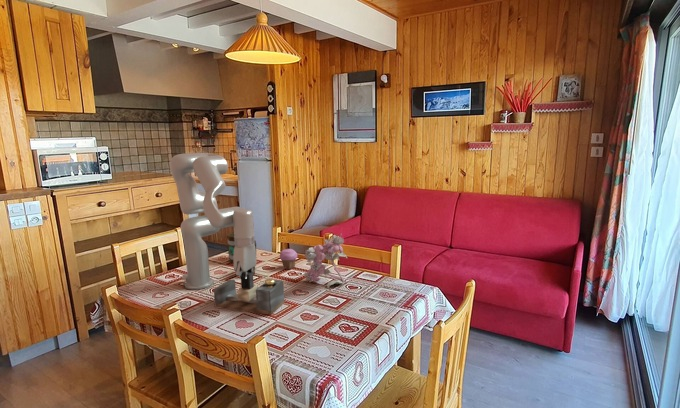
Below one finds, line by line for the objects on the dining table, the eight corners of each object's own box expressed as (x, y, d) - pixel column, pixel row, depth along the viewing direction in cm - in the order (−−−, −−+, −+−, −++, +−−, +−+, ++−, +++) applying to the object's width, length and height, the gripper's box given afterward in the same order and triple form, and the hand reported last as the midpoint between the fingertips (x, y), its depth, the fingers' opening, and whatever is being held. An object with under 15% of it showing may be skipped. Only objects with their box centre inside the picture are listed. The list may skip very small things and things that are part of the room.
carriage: (237, 299, 151) (236, 275, 149) (247, 293, 158) (246, 269, 156) (249, 301, 149) (247, 276, 148) (258, 294, 156) (256, 270, 154)
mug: (223, 261, 210) (221, 235, 207) (243, 255, 220) (241, 230, 218) (246, 268, 198) (244, 240, 195) (266, 261, 208) (264, 234, 206)
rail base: (215, 307, 153) (213, 284, 151) (231, 296, 163) (229, 274, 161) (271, 314, 145) (270, 291, 143) (284, 302, 155) (283, 280, 154)
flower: (339, 267, 191) (317, 226, 184) (366, 276, 172) (342, 230, 165) (309, 293, 183) (283, 250, 175) (333, 305, 164) (306, 257, 156)
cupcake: (291, 271, 192) (290, 252, 190) (277, 269, 195) (276, 250, 194) (300, 266, 199) (300, 247, 198) (286, 264, 203) (285, 245, 201)
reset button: (264, 295, 149) (263, 281, 148) (268, 291, 152) (267, 278, 151) (272, 296, 148) (271, 282, 147) (276, 292, 151) (276, 279, 150)
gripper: (247, 235, 158) (250, 278, 161) (224, 246, 143) (227, 292, 146) (263, 236, 156) (265, 279, 159) (241, 247, 141) (244, 294, 144)
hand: (247, 285), depth 153 cm, fingers closed on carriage, 2 cm apart
